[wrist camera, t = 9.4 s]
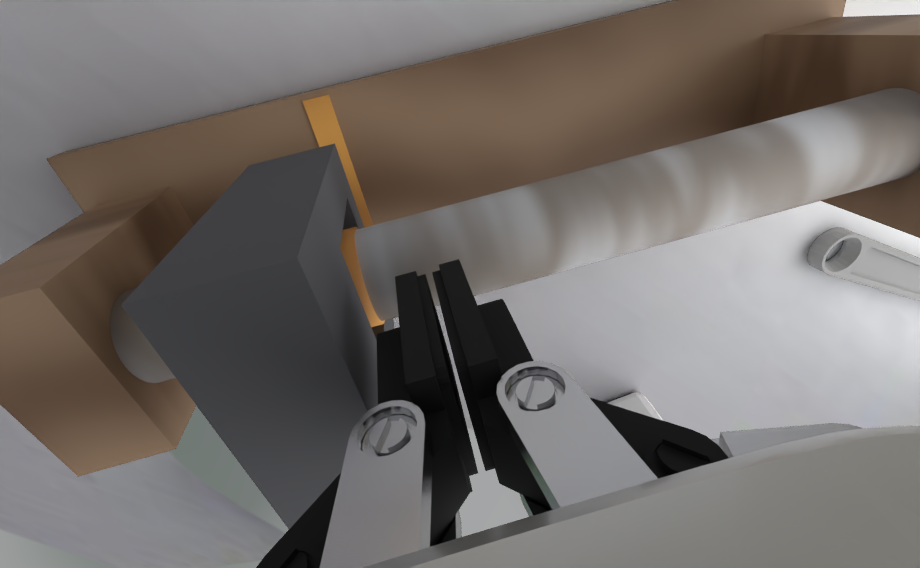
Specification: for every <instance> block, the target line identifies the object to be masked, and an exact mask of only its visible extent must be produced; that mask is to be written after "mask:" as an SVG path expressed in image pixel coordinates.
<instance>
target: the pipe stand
mask: <svg viewBox="0 0 920 568" xmlns="http://www.w3.org/2000/svg"><path fill="white" fill-rule="evenodd" d="M845 2H846V0H672V1H668V2H664V3H660V4H656V5H652V6H648V7H644V8H640V9H636V10H632V11H628V12H624V13H620V14H616V15H612V16H608V17H604V18H600V19H596V20H592V21H588V22H584V23H580V24H576V25H572V26H568V27H564V28H560V29H556V30H552V31H548V32H544V33H540V34H536V35H532V36H528V37H524V38H520V39H516V40H512V41H508V42H504V43H500V44H496V45H492V46H488V47H484V48H480V49H476V50H472V51H468V52H464V53H460V54H456V55H452V56H448V57H444V58H440V59H436V60H432V61H428V62H424V63H420V64H416V65H412V66H408V67H404V68H400V69H396V70H392V71H388V72H384V73H380V74H376V75H372V76H368V77H364V78H360V79H356V80H352V81H348V82H344V83H340V84H336V85H332V86H328V87H324V88H320V89H316V90H312V91H308V92H304V93H300V94H296V95H292V96H288V97H284V98H280V99H276V100H272V101H268V102H264V103H260V104H256V105H252V106H248V107H244V108H240V109H236V110H232V111H228V112H224V113H220V114H216V115H212V116H208V117H204V118H200V119H196V120H192V121H188V122H184V123H180V124H176V125H172V126H168V127H164V128H160V129H156V130H152V131H148V132H144V133H140V134H136V135H132V136H128V137H124V138H120V139H116V140H112V141H108V142H104V143H100V144H96V145H92V146H88V147H84V148H80V149H76V150H72V151H68V152H64V153H61V154H58V155H56V156H53V157H50V158H48V159H47V161H48V162H49V164H50V165H51V167H52V168H53V169H54V171H55V172H56V174H57V175H58V176H59V178H60V179H61V181H62V182H63V183H64V185H65V186H66V188H67V189H68V191H69V192H70V193H71V195H72V196H73V198H74V199H75V200H76V202H77V203H78V205H79V206H80V208H81V209H82V210H83V212H84V213H83V214H81V215H80V216H78V217H76V218H75V219H73V220H72V221H70V222H68V223H67V224H65V225H64V226H62V227H61V228H59V229H57V230H56V231H54V232H53V233H51V234H49V235H48V236H46V237H45V238H43V239H41V240H40V241H38V242H37V243H35V244H33V245H32V246H30V247H29V248H27V249H25V250H24V251H22V252H21V253H19V254H18V255H16V256H14V257H13V258H11V259H10V260H8V261H6V262H5V263H3V264H2V265H0V405H1V406H3V407H4V408H5V409H6V410H7V411H8V412H9V413H10V414H11V415H12V416H13V417H14V418H16V419H17V420H18V421H19V422H20V423H21V424H22V425H23V426H24V427H25V428H26V429H27V430H28V431H30V432H31V433H32V434H33V435H34V436H35V437H36V438H37V439H38V440H39V441H40V442H41V443H43V444H44V445H45V446H46V447H47V448H48V449H49V450H50V451H51V452H52V453H53V454H54V455H55V456H57V457H58V458H59V459H60V460H61V461H62V462H63V463H64V464H65V465H66V466H67V467H68V468H70V469H71V470H72V471H73V472H74V473H75V474H76V475H77V476H82V475H85V474H89V473H92V472H96V471H99V470H103V469H107V468H110V467H114V466H117V465H121V464H124V463H128V462H131V461H135V460H138V459H142V458H146V457H149V456H153V455H156V454H160V453H163V452H167V451H170V450H174V449H176V447H177V445H178V443H179V441H180V439H181V436H182V435H183V433H184V430H185V428H186V426H187V424H188V422H189V420H190V418H191V415H192V413H193V411H194V409H195V407H196V404H195V403H194V401H193V400H192V399H191V397H190V396H189V395H188V393H187V392H186V391H185V389H184V388H183V387H182V385H181V384H180V383H179V381H178V380H177V379H176V377H175V376H174V375H173V373H172V372H171V371H170V369H169V368H168V367H167V365H166V364H165V363H164V361H163V360H162V358H161V357H160V356H159V354H158V353H157V352H156V350H155V349H154V348H153V346H152V345H151V344H150V342H149V341H148V340H147V338H146V337H145V336H144V334H143V333H142V332H141V330H140V329H139V328H138V326H137V325H136V324H135V322H134V321H133V320H132V318H131V317H130V316H129V314H128V313H127V312H126V310H125V309H124V308H123V306H122V305H121V304H122V303H123V302H124V301H125V300H126V299H127V298H128V297H129V296H130V295H131V293H132V292H133V291H134V290H135V289H136V288H137V287H138V286H139V285H140V284H141V283H142V281H143V280H144V279H145V278H146V277H147V276H148V275H149V274H150V273H151V272H152V271H153V269H154V268H155V267H156V266H157V265H158V264H159V263H160V262H161V261H162V260H163V259H164V258H165V256H166V255H167V254H168V253H169V252H170V251H171V250H172V249H173V248H174V247H175V246H176V244H177V243H178V242H179V241H180V240H181V239H182V238H183V237H184V236H185V235H186V234H187V232H188V231H189V230H190V229H191V228H192V227H193V226H194V225H195V224H196V223H197V222H198V220H199V219H200V218H201V217H202V216H203V215H204V214H205V213H206V212H207V211H208V210H209V209H210V207H211V206H212V205H213V204H214V203H215V202H216V201H217V200H218V199H219V198H220V197H221V195H222V194H223V193H224V192H225V191H226V190H227V189H228V188H229V187H230V186H231V185H232V183H233V182H234V181H235V180H236V179H237V178H238V177H239V176H240V175H241V174H242V173H243V171H244V170H245V169H246V168H247V167H248V166H249V165H252V164H256V163H260V162H264V161H268V160H272V159H276V158H280V157H284V156H288V155H291V154H295V153H299V152H303V151H307V150H311V149H315V148H319V147H323V146H327V145H331V144H334V143H335V145H336V148H337V151H338V154H339V157H340V160H341V162H342V165H343V168H344V171H345V174H346V177H347V180H348V182H349V185H350V188H351V191H352V194H353V197H354V199H355V202H356V205H357V208H358V211H359V214H360V216H361V219H362V222H363V225H364V228H361V229H358V228H357V227H352V228H348V229H345V230H343V232H342V239H341V246H340V249H341V252H342V254H343V257H344V259H345V262H346V265H347V267H348V270H349V272H350V275H351V277H352V280H353V282H354V285H355V287H356V290H357V292H358V295H359V297H360V300H361V302H362V305H363V308H364V310H365V313H366V315H367V318H368V320H369V323H370V325H371V327H374V326H378V325H382V324H384V322H385V320H388V319H392V318H395V317H399V314H398V304H397V294H396V284H395V276H399V275H402V274H406V273H410V272H413V271H416V273H417V275H418V276H420V275H424V274H426V278H427V281H428V284H429V288H430V291H431V295H432V298H433V302H434V305H435V306H439V305H440V302H439V298H438V294H437V290H436V286H435V282H434V278H433V275H432V272H435V271H438V270H440V268H439V264H443V263H446V262H450V261H454V260H457V259H459V260H460V263H461V265H462V268H463V270H464V273H465V275H466V278H467V281H468V283H469V286H470V288H471V291H472V293H473V296H475V295H479V294H482V293H486V292H490V291H493V290H497V289H501V288H504V287H508V286H512V285H515V284H519V283H522V282H526V281H530V280H533V279H537V278H541V277H544V276H548V275H552V274H555V273H559V272H562V271H566V270H570V269H573V268H577V267H581V266H584V265H588V264H592V263H595V262H599V261H602V260H606V259H610V258H613V257H617V256H621V255H624V254H628V253H631V252H635V251H639V250H642V249H646V248H650V247H653V246H657V245H661V244H664V243H668V242H671V241H675V240H679V239H682V238H686V237H690V236H693V235H697V234H701V233H704V232H708V231H711V230H715V229H719V228H722V227H726V226H730V225H733V224H737V223H741V222H744V221H748V220H751V219H755V218H759V217H762V216H766V215H770V214H773V213H777V212H781V211H784V210H788V209H791V208H795V207H799V206H802V205H806V204H810V203H813V202H817V201H823V202H826V203H828V204H831V205H834V206H836V207H839V208H842V209H844V210H847V211H850V212H852V213H855V214H858V215H860V216H863V217H866V218H868V219H871V220H874V221H876V222H879V223H882V224H884V225H887V226H890V227H892V228H895V229H898V230H900V231H903V232H906V233H908V234H911V235H914V236H916V237H919V238H920V15H891V16H860V17H842V16H843V12H844V7H845Z"/></svg>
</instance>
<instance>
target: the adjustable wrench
mask: <svg viewBox="0 0 920 568" xmlns="http://www.w3.org/2000/svg"><path fill="white" fill-rule="evenodd" d="M842 240H843V244H842V247H841V249H840V250H839V252H838V253H837V254H836V255H835V256H834V257H832V258H831V259H829V260H827V261H826V257H827V255H828V254H829V252H830V250H831V249H832V248H833V247H834V246H835V245H836V244H838V243H839V242H840V241H842ZM807 259H808V262H809V264H810V265H812V266H813V267H815V268H817V269H819V270H821V271H823V272H825V273H827V274H828V275H832V276H835V277H839V278H842V279H846V280H849V281H853V282H856V283H859V284H863V285H866V286H870V287H873V288H877V289H880V290H884V291H887V292H890V293H894V294H897V295H901V296H904V297H908V298H911V299H914V300H918V301H920V258H918V257H915V256H913V255H910V254H907V253H905V252H902V251H900V250H897V249H895V248H892V247H890V246H887V245H885V244H882V243H880V242H877V241H875V240H872V239H869V238H867V237H864V236H862V235H859V234H857V233H854V232H852V231H849V230H847V229H844V228H839V227H837V228H832V229H830V230H828V231H826V232H824V233H823V234H821V235H820V236H819V237H818V238H817V239H816V240H815V241H814V242H813V243H812V245H811V247H810V249H809V251H808V255H807Z"/></svg>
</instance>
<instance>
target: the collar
mask: <svg viewBox="0 0 920 568" xmlns="http://www.w3.org/2000/svg"><path fill="white" fill-rule="evenodd" d="M352 227H357V228H358V229H361V228H364V225H363V222H362V219H361V216H360V214H359V211H358V208H357V205H356V202H355V199H354V197H353V194H352V191H351V188H350V185H349V182H348V180H347V177H346V174H345V171H344V168H343V165H342V162H341V160H340V157H339V154H338V151H337V148H336V145H335V143H334V144H331V145H327V146H323V147H319V148H315V149H311V150H307V151H303V152H299V153H295V154H291V155H288V156H284V157H280V158H276V159H272V160H268V161H264V162H260V163H256V164H252V165H249V166H248V167H247V168H246V169H245V170H244V171H243V173H242V174H241V175H240V176H239V177H238V178H237V179H236V180H235V181H234V182H233V183H232V185H231V186H230V187H229V188H228V189H227V190H226V191H225V192H224V193H223V194H222V195H221V197H220V198H219V199H218V200H217V201H216V202H215V203H214V204H213V205H212V206H211V207H210V209H209V210H208V211H207V212H206V213H205V214H204V215H203V216H202V217H201V218H200V219H199V220H198V222H197V223H196V224H195V225H194V226H193V227H192V228H191V229H190V230H189V231H188V232H187V234H186V235H185V236H184V237H183V238H182V239H181V240H180V241H179V242H178V243H177V244H176V246H175V247H174V248H173V249H172V250H171V251H170V252H169V253H168V254H167V255H166V256H165V258H164V259H163V260H162V261H161V262H160V263H159V264H158V265H157V266H156V267H155V268H154V269H153V271H152V272H151V273H150V274H149V275H148V276H147V277H146V278H145V279H144V280H143V281H142V283H141V284H140V285H139V286H138V287H137V288H136V289H135V290H134V291H133V292H132V293H131V295H130V296H129V297H128V298H127V299H126V300H125V301H124V302H123V303H122V304H121V305H122V306H123V308H124V309H125V310H126V312H127V313H128V314H129V316H130V317H131V318H132V320H133V321H134V322H135V324H136V325H137V326H138V328H139V329H140V330H141V332H142V333H143V334H144V336H145V337H146V338H147V340H148V341H149V342H150V344H151V345H152V346H153V348H154V349H155V350H156V352H157V353H158V354H159V356H160V357H161V358H162V360H163V361H164V363H165V364H166V365H167V367H168V368H169V369H170V371H171V372H172V373H173V375H174V376H175V377H176V379H177V380H178V381H179V383H180V384H181V385H182V387H183V388H184V389H185V391H186V392H187V393H188V395H189V396H190V397H191V399H192V400H193V401H194V403H195V404H196V405H197V407H198V408H199V409H200V411H201V412H202V413H203V415H204V416H205V417H206V419H207V420H208V421H209V423H210V424H211V425H212V427H213V428H214V429H215V431H216V432H217V433H218V435H219V436H220V437H221V439H222V440H223V441H224V443H225V444H226V446H227V447H228V448H229V450H230V451H231V452H232V454H233V455H234V456H235V457H236V459H237V460H238V462H239V463H240V464H241V466H242V467H243V468H244V470H245V471H246V472H247V474H248V475H249V476H250V478H251V479H252V480H253V482H254V483H255V484H256V486H257V487H258V488H259V490H260V491H261V492H262V494H263V495H264V496H265V498H266V499H267V500H268V502H269V503H270V504H271V506H272V507H273V508H274V510H275V511H276V513H277V514H278V515H279V516H280V518H281V519H282V521H283V522H284V523H285V525H286V526H287V527H288V529H290V528H291V527H292V526H293V525H294V524H295V523H296V521H297V520H298V519H299V518H300V517H301V516H302V515H303V514H304V513H305V512H306V510H307V509H308V508H309V507H310V506H311V505H312V504H313V503H314V502H315V500H316V499H317V498H318V497H319V496H320V495H321V494H322V493H323V492H324V491H325V489H326V488H327V487H328V486H329V485H330V484H331V483H332V482H333V481H334V480H335V478H336V477H337V476H338V475H339V474H340V473H341V472H342V467H343V463H344V458H345V454H346V450H347V445H348V441H349V436H350V434H351V431H352V429H353V426H354V425H355V424H356V422H357V421H358V420H359V418H360V417H361V416H362V415H364V414H365V413H366V412H367V411H368V410H370V409H371V408H373V407H375V406H377V405H378V387H377V334H378V333H381V332H384V331H388V330H391V329H394V322H393V318H392V319H388V320H385V322H384V324H382V325H378V326H374V327H371V325H370V323H369V320H368V318H367V315H366V313H365V310H364V308H363V305H362V302H361V300H360V297H359V295H358V292H357V290H356V287H355V285H354V282H353V280H352V277H351V275H350V272H349V270H348V267H347V265H346V262H345V259H344V257H343V254H342V252H341V249H340V246H341V239H342V232H343V230H345V229H348V228H352Z"/></svg>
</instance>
